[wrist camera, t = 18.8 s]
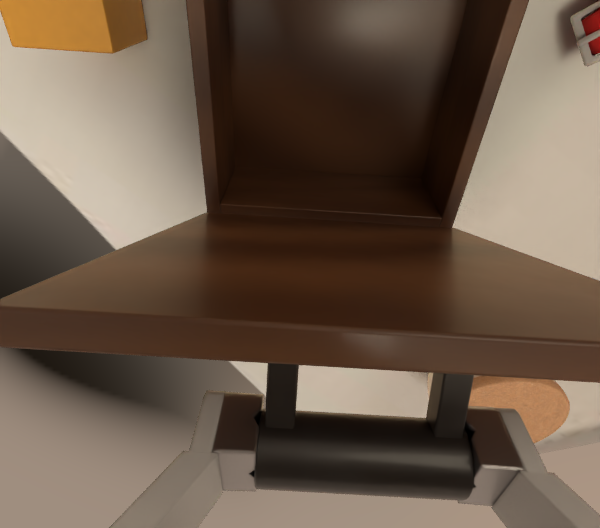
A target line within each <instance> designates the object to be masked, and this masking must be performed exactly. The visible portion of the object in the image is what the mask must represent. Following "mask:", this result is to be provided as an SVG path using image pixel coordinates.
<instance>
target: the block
mask: <svg viewBox="0 0 600 528" xmlns="http://www.w3.org/2000/svg"><path fill="white" fill-rule="evenodd" d="M0 11H1V14H2V17H3V20H4V23H5V26H6V28H7V31H8V34H9V37H10V40H11V43H12V46H14V47H24V48H38V49H53V50H68V51H83V52H97V53H112V54H113V53H115V52H117V51H120V50H122V49H125V48H127V47H130V46H132V45H135V44H137V43H140V42H142V41H145V40H147V33H146V27H145V20H144V14H143V8H142V1H141V0H0Z"/></svg>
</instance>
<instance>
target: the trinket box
mask: <svg viewBox="0 0 600 528" xmlns="http://www.w3.org/2000/svg"><path fill="white" fill-rule="evenodd" d="M432 378H433V373H429V372H428V382H427V387H428V396H429V397H430V391H431V384H432ZM469 406H482V407H494V408H512V409H515V410H516V411H517V412H518V413H519V414H520V416H521V418H522V420H523V422H524V424H525V427H526V429H527V431H528V433H529V435H530V437H531V439H532V441H533V443H536V442H538V441H540V440H542V439H544V438H546V437H548V436H549V435H551V434H552V433H554V432H555V431H556V430H557V429H558V428H559V427H561V425H562V424H563V423H564V422H565V420H566V418H567V416H568V413H569V410H570V405H569V400H568V398H567V396H566V394H565V393H564V391H563V390H562V388H561V387H560V386H559V385H558V384H557V382H556V381H555V380H547V379H530V378H513V377H496V376H479V375H474V378H473V383H472V389H471V394H470V400H469Z"/></svg>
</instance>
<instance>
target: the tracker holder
mask: <svg viewBox="0 0 600 528" xmlns="http://www.w3.org/2000/svg"><path fill="white" fill-rule="evenodd" d="M595 10H596V11H595ZM593 11H595V12H594V13H592V14H591V15H589V16H587V17H586V18H584V19H583V17H584V16H586V15H588V14H589V13H591V12H593ZM570 21H571V24H572V27H573V31H574V34H575V37H576V40H577V46H579V50H580V53H581V56H582V59H583V62H584V65H585V66H587V67H588V66H590V65H592V64H594V63H596V62H599V61H600V54H599V55H597V56H595V54H598V53H600V0H599V1H597V2H595V3H594V4H592V5H590V6H588V7H586V8H585V9H583V10H581V11H579V12H577V13H576V14H574V15H572V16H571V18H570Z"/></svg>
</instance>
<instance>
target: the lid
mask: <svg viewBox="0 0 600 528" xmlns="http://www.w3.org/2000/svg"><path fill="white" fill-rule="evenodd" d="M0 347H6V348H23V349H40V350H57V351H74V352H91V353H92V352H93V353H107V354H124V355H142V356H158V357H176V358H192V359H209V360H226V361H243V362H260V363H268V371H267V392H266V409H263V410H262V413H261V416H260V420H259V434H258V444H257V455H256V466H255V474H254V484H255V488H256V489H264V490H282V491H300V492H301V491H302V492H318V493H319V492H320V493H336V494H354V495H372V496H389V497H407V498H425V499H443V500H460V501H463V500H466V499H468V498H469V497H470V495H471V493H472V490H473V485H474V460H473V454H472V449H471V445H470V441H469V438H468V435H467V433H466V431H465V429H464V428H465V422H466V417H467V411H468V406H469V400H470V394H471V389H472V383H473V378H474V375H479V376H496V377H513V378H530V379H547V380H564V381H581V382H598V383H600V281H598V280H595V279H593V278H590V277H587V276H584V275H582V274H579V273H576V272H573V271H571V270H568V269H565V268H562V267H560V266H557V265H554V264H551V263H549V262H546V261H543V260H540V259H538V258H535V257H532V256H529V255H527V254H524V253H521V252H518V251H516V250H513V249H510V248H508V247H505V246H502V245H499V244H497V243H494V242H491V241H488V240H486V239H483V238H480V237H477V236H475V235H472V234H469V233H466V232H464V231H461V230H458V229H455V228H447V227H431V226H415V225H399V224H383V223H368V222H352V221H336V220H320V219H304V218H288V217H272V216H256V215H240V214H224V213H208V212H207V213H204V214H202V215H199V216H197V217H195V218H192V219H190V220H188V221H185V222H183V223H180V224H178V225H176V226H173V227H171V228H168V229H166V230H164V231H161V232H159V233H157V234H154V235H152V236H149V237H147V238H145V239H142V240H140V241H137V242H135V243H133V244H130V245H128V246H125V247H123V248H121V249H118V250H116V251H114V252H111V253H109V254H106V255H104V256H102V257H99V258H97V259H94V260H92V261H90V262H87V263H85V264H83V265H80V266H78V267H75V268H73V269H71V270H68V271H66V272H64V273H61V274H59V275H56V276H54V277H52V278H49V279H47V280H44V281H42V282H40V283H37V284H35V285H33V286H30V287H28V288H25V289H23V290H21V291H18V292H16V293H13V294H11V295H9V296H6V297H4V298H1V299H0ZM299 365H310V366H327V367H344V368H361V369H378V370H395V371H412V372H429V373H433V378H432V384H431V391H430V397H429V404H428V410H427V417H426V418H414V417H397V416H380V415H363V414H346V413H328V412H311V411H296V398H297V383H298V368H299Z"/></svg>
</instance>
